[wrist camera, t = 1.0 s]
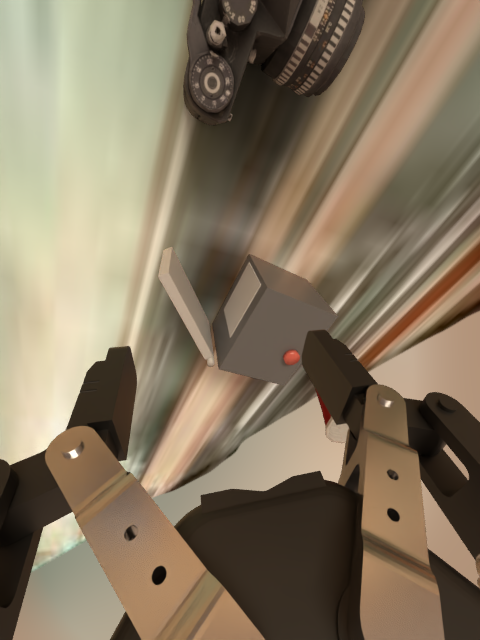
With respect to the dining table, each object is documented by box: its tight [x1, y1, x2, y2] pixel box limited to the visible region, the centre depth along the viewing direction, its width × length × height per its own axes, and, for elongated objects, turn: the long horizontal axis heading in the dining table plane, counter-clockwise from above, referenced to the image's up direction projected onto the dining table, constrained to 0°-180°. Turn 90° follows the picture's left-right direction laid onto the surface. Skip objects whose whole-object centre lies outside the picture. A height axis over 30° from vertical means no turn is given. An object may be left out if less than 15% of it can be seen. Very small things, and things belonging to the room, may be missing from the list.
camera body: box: [213, 254, 338, 385], centre depth 33 cm, size 9×13×10 cm
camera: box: [183, 0, 365, 125], centre depth 18 cm, size 14×11×10 cm
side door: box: [158, 247, 215, 367], centre depth 30 cm, size 1×12×8 cm, turn 18°
